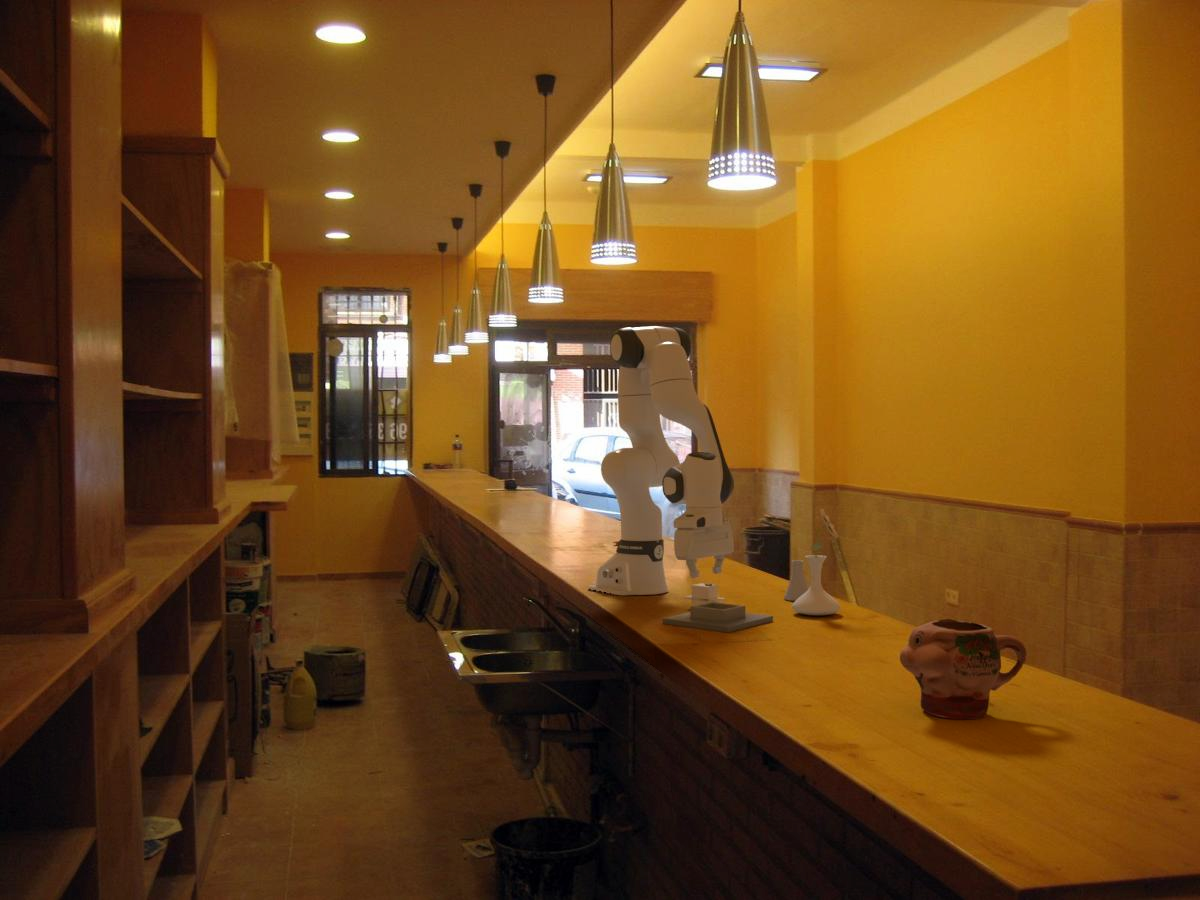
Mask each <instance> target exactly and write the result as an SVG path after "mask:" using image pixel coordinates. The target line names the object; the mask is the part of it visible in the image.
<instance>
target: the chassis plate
mask: <svg viewBox="0 0 1200 900" xmlns="http://www.w3.org/2000/svg"><path fill="white" fill-rule="evenodd" d="M689 608H690V609H689V612H685V613H682V614H676V615H672V616H668V617H663V618H662V625H663V624H665V625H670V626H677V627H684V628H691V629H692V628H693V629H699V630H708V631H714V632H721V633H727V634H728V633H731V632H735V631H740V630H743V629H744V630H745V629H747V628H751V627H756V626H759V625H764V624H767V623H771V622H774V616H773V615H769V614H760V613H752V612H751V613H750V612H746V605H740V604H733V603H724V602H718V603H716V602H709V603H704V604H700V605H695V606H690V607H689Z"/></svg>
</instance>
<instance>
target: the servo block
mask: <svg viewBox="0 0 1200 900" xmlns="http://www.w3.org/2000/svg"><path fill="white" fill-rule="evenodd" d="M690 587H691V588H690V589H691V594H690V595H686V596H683V597H684V600H691V606H695V605H700V604H704V603H709V602H716V603H722V602H724V601H726V597H719V590H718V589H719V588H718V587H719V585H718V584H713V583H709V582H707V583H702V582H700V583H695V584H691V586H690Z"/></svg>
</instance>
